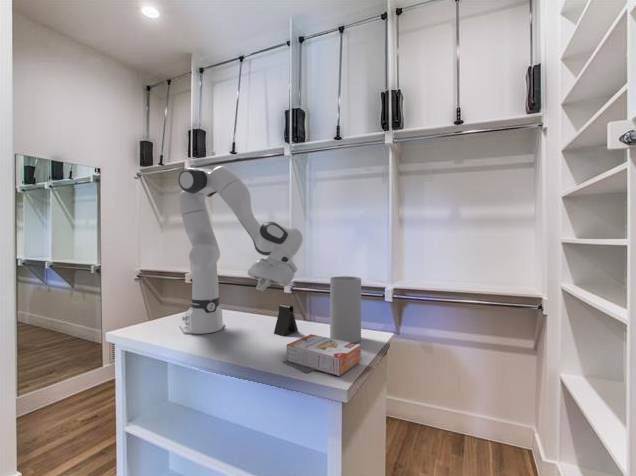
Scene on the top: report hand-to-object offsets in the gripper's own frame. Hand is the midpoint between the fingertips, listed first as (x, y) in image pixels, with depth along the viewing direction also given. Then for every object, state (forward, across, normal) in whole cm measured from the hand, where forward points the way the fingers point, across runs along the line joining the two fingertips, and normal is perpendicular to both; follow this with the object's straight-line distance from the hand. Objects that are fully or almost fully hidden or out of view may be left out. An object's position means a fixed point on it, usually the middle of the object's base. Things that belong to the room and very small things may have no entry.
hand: (259, 289), depth 123 cm
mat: (+14, +27, +13) cm, 33 cm away
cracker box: (+11, +20, +12) cm, 26 cm away
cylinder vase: (-3, +25, +33) cm, 41 cm away
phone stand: (+3, -1, +29) cm, 30 cm away
